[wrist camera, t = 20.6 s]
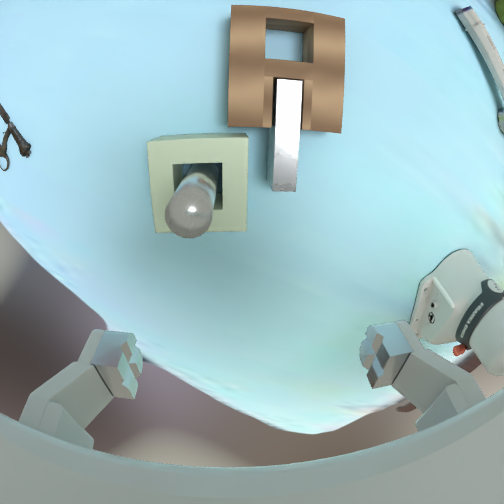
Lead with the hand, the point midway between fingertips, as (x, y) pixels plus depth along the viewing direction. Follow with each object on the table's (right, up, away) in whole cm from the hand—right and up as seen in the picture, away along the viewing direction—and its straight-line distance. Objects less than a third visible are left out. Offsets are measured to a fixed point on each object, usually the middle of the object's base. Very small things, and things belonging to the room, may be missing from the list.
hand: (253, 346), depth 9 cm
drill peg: (-6, +13, +23) cm, 27 cm away
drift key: (+3, +17, +22) cm, 28 cm away
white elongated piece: (+40, +34, +16) cm, 55 cm away
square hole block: (-6, +13, +23) cm, 27 cm away
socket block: (+3, +24, +18) cm, 30 cm away
